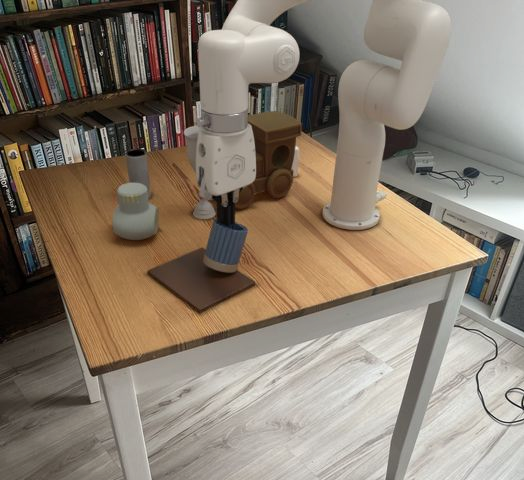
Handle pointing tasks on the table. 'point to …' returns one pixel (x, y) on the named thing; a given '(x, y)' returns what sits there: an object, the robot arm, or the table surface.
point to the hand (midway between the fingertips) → (226, 222)
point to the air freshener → (135, 213)
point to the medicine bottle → (295, 162)
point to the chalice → (202, 207)
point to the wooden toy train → (271, 155)
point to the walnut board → (199, 281)
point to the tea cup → (225, 246)
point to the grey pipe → (138, 168)
